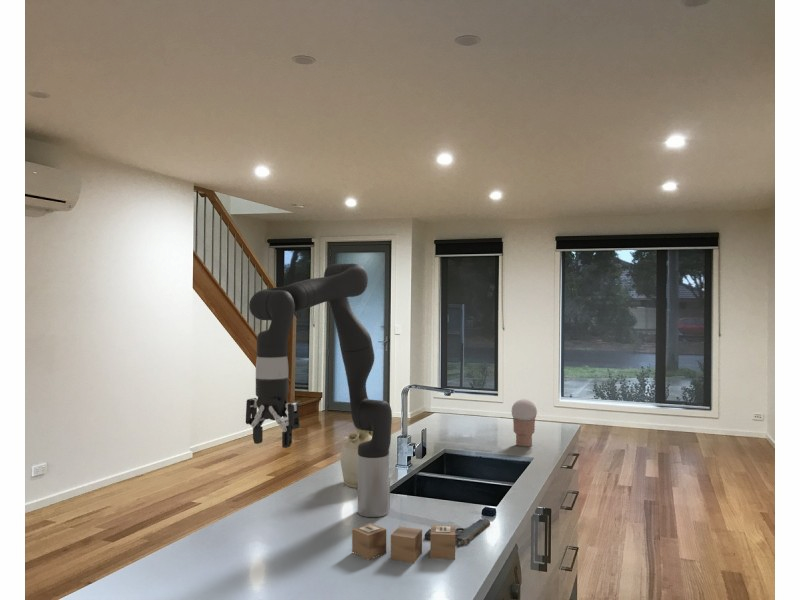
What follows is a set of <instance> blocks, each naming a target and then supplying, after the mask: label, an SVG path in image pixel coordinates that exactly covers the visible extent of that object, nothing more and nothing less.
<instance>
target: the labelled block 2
mask: <svg viewBox="0 0 800 600" xmlns="http://www.w3.org/2000/svg"><path fill="white" fill-rule="evenodd" d="M430 529H431V534H430V545H429V547H430V550H429V551H430V552H429V553H430V554H429V555H430V559H442V560H456V543H455V529H456V525H443V524H442V525H440V524H431V527H430Z"/></svg>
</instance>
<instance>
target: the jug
mask: <svg viewBox="0 0 800 600" xmlns="http://www.w3.org/2000/svg"><path fill="white" fill-rule="evenodd" d="M352 427H353V429H354V430H355V431H356V432H355V431H354V432H351V433H350V434H349V435H348V436H347V439H346V441H344V443H343V445H342V447H341V449H340V453H339V454H340V456H339V457H340V458H339V461H340V466H341V472H342V478H343V482H344V485H345V486H347V487H348V486H349V488H354V489H358V446H359V444H361V443H363V442H366V441H370V440H371V439H372V434H373V431H365V430H360V429H358V428H356V427H355V425H354V423H353V422H352Z"/></svg>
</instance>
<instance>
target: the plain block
mask: <svg viewBox="0 0 800 600" xmlns="http://www.w3.org/2000/svg"><path fill="white" fill-rule="evenodd" d="M422 554H423V529H421V528H420V529H419V528H415V527H414V528H413V527H406V526H400V525H399V526H398V527H397V528H396V529H395V530H394V531H393V532H392V533H391V534H390V560H392V559H394V560H393V561H398V560H399V561H400V562H404V561H406V563H411V562H412V564H415V563H416V562H417V560H418V559H419V558H420V556H422Z"/></svg>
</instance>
